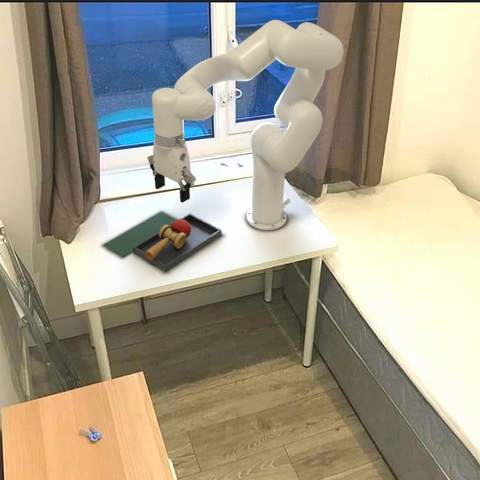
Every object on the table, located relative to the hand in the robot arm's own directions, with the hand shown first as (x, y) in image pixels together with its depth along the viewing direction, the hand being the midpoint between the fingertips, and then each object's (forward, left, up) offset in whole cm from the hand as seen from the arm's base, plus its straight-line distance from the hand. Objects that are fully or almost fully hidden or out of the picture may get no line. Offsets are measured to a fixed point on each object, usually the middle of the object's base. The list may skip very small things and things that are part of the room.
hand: (172, 193), depth 166 cm
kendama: (+4, +1, -16) cm, 17 cm away
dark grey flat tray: (0, +1, -17) cm, 17 cm away
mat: (+3, -11, -17) cm, 20 cm away
